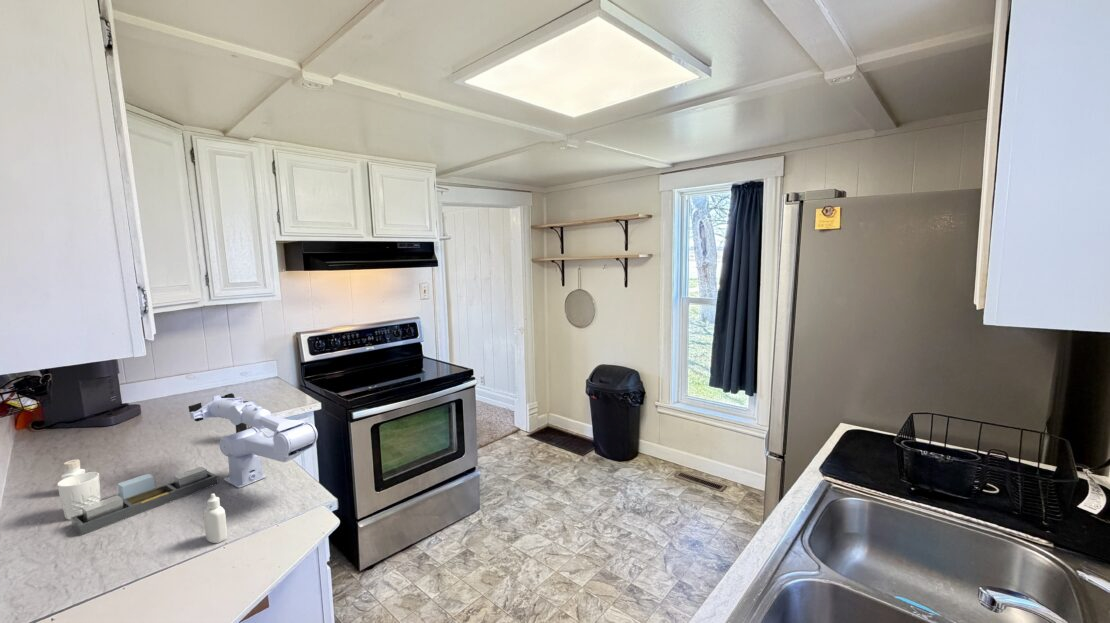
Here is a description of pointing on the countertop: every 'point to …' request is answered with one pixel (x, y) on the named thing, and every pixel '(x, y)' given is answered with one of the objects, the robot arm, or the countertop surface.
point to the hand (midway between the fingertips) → (203, 404)
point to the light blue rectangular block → (135, 486)
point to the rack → (141, 501)
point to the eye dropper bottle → (215, 521)
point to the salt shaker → (72, 468)
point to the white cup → (79, 492)
